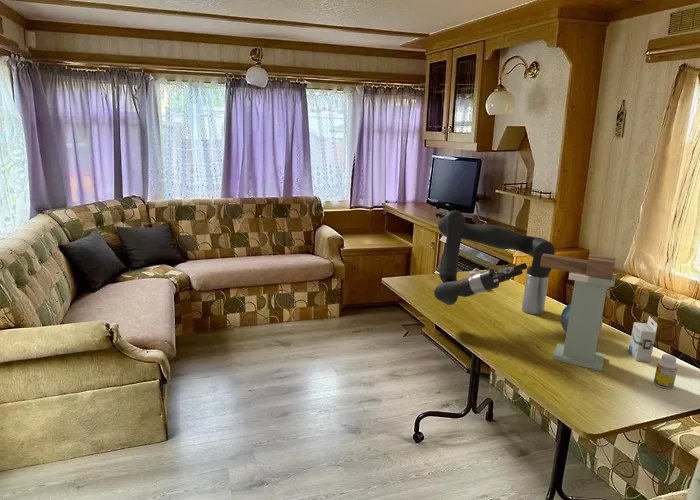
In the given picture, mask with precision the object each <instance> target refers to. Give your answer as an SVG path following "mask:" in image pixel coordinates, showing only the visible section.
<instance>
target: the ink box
mask: <svg viewBox="0 0 700 500" xmlns="http://www.w3.org/2000/svg"><path fill="white" fill-rule="evenodd" d="M657 330H658V322H656V321H655V320H654V319H653V318H652V317H651V316H648V317H647V323H643V322H637V321H635V322H634V321H633V324H632V331H631V335H630V341H629V345H628V352H629V353H630V355H631V356H632V357H633V359H634V360H635V361H637V362H647V363H650V362H651V358H652V354H653V350H654V344H655V340H656V336H657Z"/></svg>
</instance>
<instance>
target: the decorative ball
mask: <svg viewBox="0 0 700 500" xmlns="http://www.w3.org/2000/svg"><path fill="white" fill-rule="evenodd" d="M570 308H571V303H569V304H567V305H566V306H565V307H564V308H563V310H562V312H561V315H560V325H561V327H562V329H563V331H564V332H565V333H566V332H567V326H568V320H569V314H570ZM602 327H603V319H602V320H601V325H600V331H601V330H602Z"/></svg>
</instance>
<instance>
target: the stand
mask: <svg viewBox="0 0 700 500" xmlns="http://www.w3.org/2000/svg"><path fill="white" fill-rule="evenodd" d="M585 275H586V274H581V273H575V272H569V273H568V280H571V281H574V285H573V289H572V296H571V303H570V304H571V308H570V314H569V320H568V326H567V332H565V334H566V335H565V339H564V343H560V342H559V343H557V345H556V347H555V350H554V351H553V354H552V360H555V361H558V362H562V363H563V362H564V363H567V364H571V365H573V366H574V365H575V366H579V367H583V368H587V369H590V370H594V371H595V370H596V371H598V372H603V368H604V361H605V353H601V352H597V346H598V342H599V341H598V340H599V335H600V332H601V330H600V325H601V320H602V321H603V313H604V307H605V302H606V296H607V290H608V287H611V288H615V284H616V283H615V282H616V278H617V273H613V276H612V280H608V279H602V278H596V277H590V276H585Z"/></svg>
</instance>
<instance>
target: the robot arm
mask: <svg viewBox="0 0 700 500" xmlns="http://www.w3.org/2000/svg"><path fill="white" fill-rule="evenodd" d="M437 225H438V226H437V227H438V230H439V232H440V233H441V234H442V235H444V236H446V241H445V243H444V244H445V245H444V248H443V251H442V254H441V258H440V262H439V264H440V265H439V279H440V280H441V281H442V282H441V283H440V284H439V285H437V286H436V287H435V288H434V292H433V295H434V297H435V299H436V300H438V301H439V302H442V303H443V304H445V305H449V306H452V305H455V303H457V301H458V298H459V297H463V298H467V297H471V296H473V295H474V296H475V295H476V294H482V293H485V292H489V291H492V290H493V289H494V290H495V289H498V288H499V286H500V283H503V282H507V281H510V280H512V279H513V278H515V277H517V276H520V275H523V273H524V272H523V270H526V269H527V270H526V277H525V283H524V284H525V285H524V290H523V298H522V299H523V300H522V306H521V310H522V311H523V312H524V313H526V314H530V315H537V316H539V315H543V314H544V311H545V304H546V299H547V298H546V297H547V291H548V284H549V278H550V273H551V271H552V269H551V268H545V267H540V263H541V256H542V255H543V254H550V255H555V253H556V249H555V245H554V244H553V243H552V242H551V241H548V240H546V239H544V238H542V237H537V236H532V235H531V236H530V235H526V234H520V233H518V232H516V231H513V230H511V229H508V228H505V227H502V226H498V225H493V224H470V223H466V218H465V216H464V214H463V213H462V212H461V211H459V210H451V211H449V212H447V213H446V214H445V215H444V216H443V217H442V218H441V219H440V220H439V222H438V224H437ZM462 240H466V241H469V242H474V243H478V244H482V245H484V246H488V247H492V248H496V249H500V250H512V251H513V250H514V251H517V252H521V253H524V254H526V255H528V256H530V257H532V262H531V265H530V266H528V265H527V263H526V262H523V263H521V264H518V265H516V264H513V265H511V266H507V267H504V268H501V269H499V270H498V271H496V272H495V270H494V269H492V268H490V269H486V270H483V271H481V272H480V273H477V274H475V275H473V276H471V277H468V278H466V277H465V278H463V279H460V280H458V279H457V275H458V264H459V255H460V247H461V244H462V243H461V241H462ZM512 269H513V270H512Z"/></svg>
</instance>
